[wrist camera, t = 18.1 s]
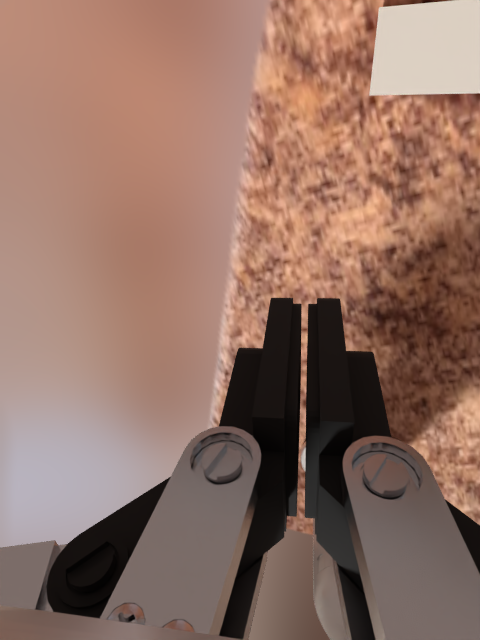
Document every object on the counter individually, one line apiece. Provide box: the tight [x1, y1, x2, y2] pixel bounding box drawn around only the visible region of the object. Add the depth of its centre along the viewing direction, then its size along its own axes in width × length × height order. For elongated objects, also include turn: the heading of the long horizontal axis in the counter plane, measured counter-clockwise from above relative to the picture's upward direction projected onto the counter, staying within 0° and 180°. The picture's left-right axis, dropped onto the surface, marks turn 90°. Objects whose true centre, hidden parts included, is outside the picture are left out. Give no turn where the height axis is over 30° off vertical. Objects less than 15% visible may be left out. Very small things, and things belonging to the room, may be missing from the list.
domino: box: [369, 0, 480, 95], centre depth 26 cm, size 2×5×10 cm
